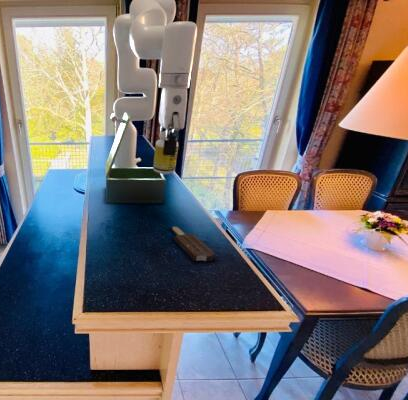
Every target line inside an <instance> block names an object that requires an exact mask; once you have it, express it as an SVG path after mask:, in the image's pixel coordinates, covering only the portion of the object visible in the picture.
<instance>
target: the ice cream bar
mask: <svg viewBox="0 0 408 400" xmlns="http://www.w3.org/2000/svg"><path fill="white" fill-rule="evenodd" d="M171 229H172V231H173V232H174V233H175V234H176V235H174V238H173V240H174V242H175V243H176V244H177V245H178V246H179V247H180V248H181V249H182V250H183V251H184V252H185V253H186V254H187V256H189V257H190V258H191V260H192V261H193V262H200V261H202V262H205V263H208V262H211V261H213V260H214V258H215V252H214V251H213V250H212V249H211V248H210V247H209V246H208V245H207V244H205V243H204V242H203V241H202V240H201V239H200V238H199V237H198V236H196V234H194V233H193V232H190V233H184V231H182V230H181V229H180V228H179V227H177V226H172V228H171Z"/></svg>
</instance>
